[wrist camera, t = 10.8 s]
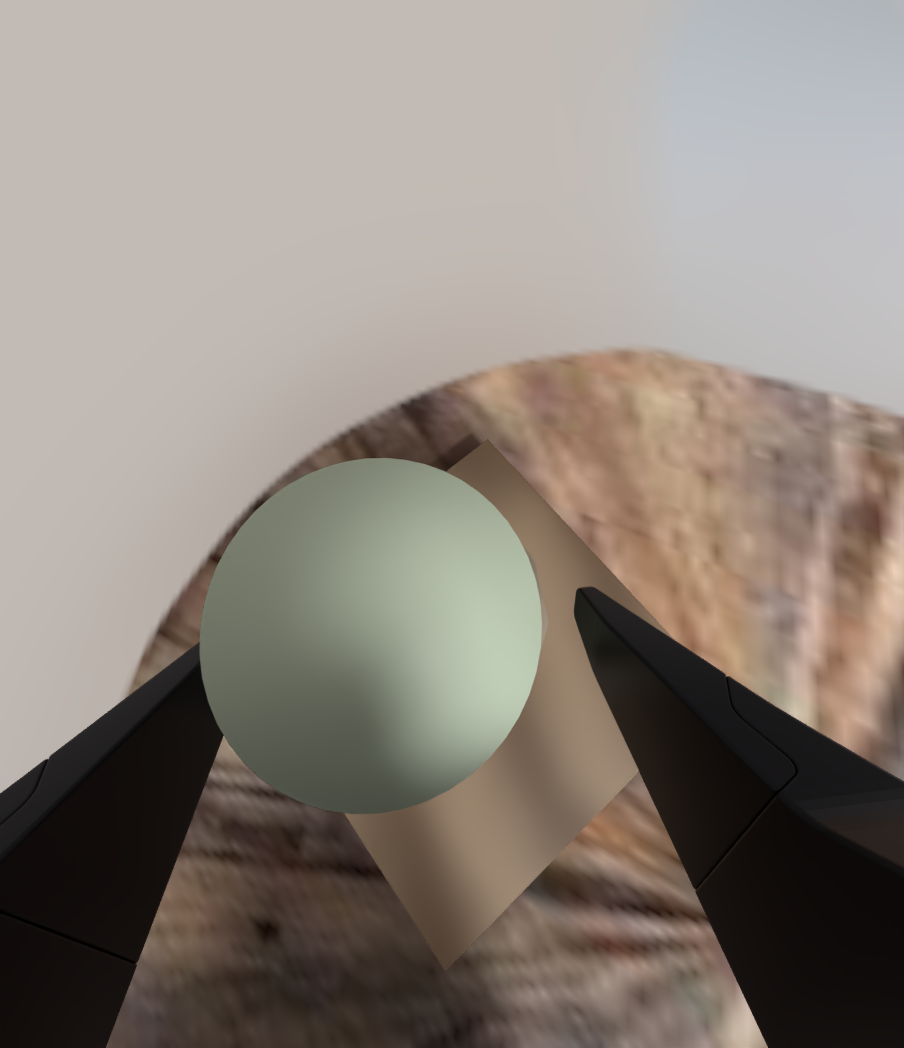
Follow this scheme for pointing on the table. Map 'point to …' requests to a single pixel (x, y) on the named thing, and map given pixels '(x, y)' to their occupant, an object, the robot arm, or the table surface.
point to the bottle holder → (514, 749)
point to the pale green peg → (370, 636)
